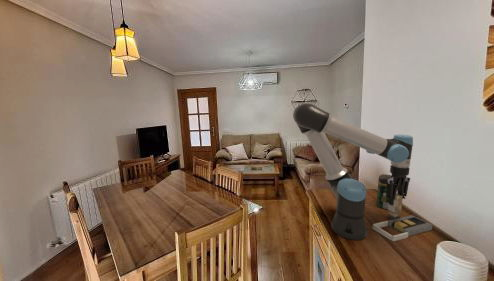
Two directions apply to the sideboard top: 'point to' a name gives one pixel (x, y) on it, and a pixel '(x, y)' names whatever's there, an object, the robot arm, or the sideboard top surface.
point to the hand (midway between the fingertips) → (394, 210)
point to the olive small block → (408, 223)
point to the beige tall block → (396, 208)
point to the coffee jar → (382, 192)
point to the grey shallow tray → (419, 228)
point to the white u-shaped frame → (387, 235)
